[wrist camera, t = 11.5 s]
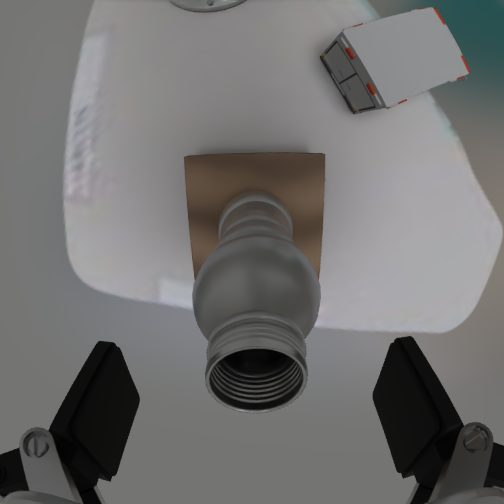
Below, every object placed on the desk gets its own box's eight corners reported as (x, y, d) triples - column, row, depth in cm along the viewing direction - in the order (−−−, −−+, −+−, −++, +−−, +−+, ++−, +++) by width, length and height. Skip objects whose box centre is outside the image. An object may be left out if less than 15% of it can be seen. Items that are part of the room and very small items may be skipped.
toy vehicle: (451, 79, 26) (499, 72, 17) (353, 122, 30) (390, 119, 20) (417, 18, 23) (458, -5, 14) (311, 52, 27) (333, 22, 17)
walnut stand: (196, 153, 31) (184, 156, 26) (312, 151, 31) (325, 154, 25) (203, 260, 36) (195, 283, 30) (309, 258, 36) (318, 280, 30)
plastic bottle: (213, 240, 29) (154, 410, 10) (234, 175, 26) (184, 274, 8) (274, 260, 29) (298, 441, 11) (299, 198, 27) (385, 331, 8)
